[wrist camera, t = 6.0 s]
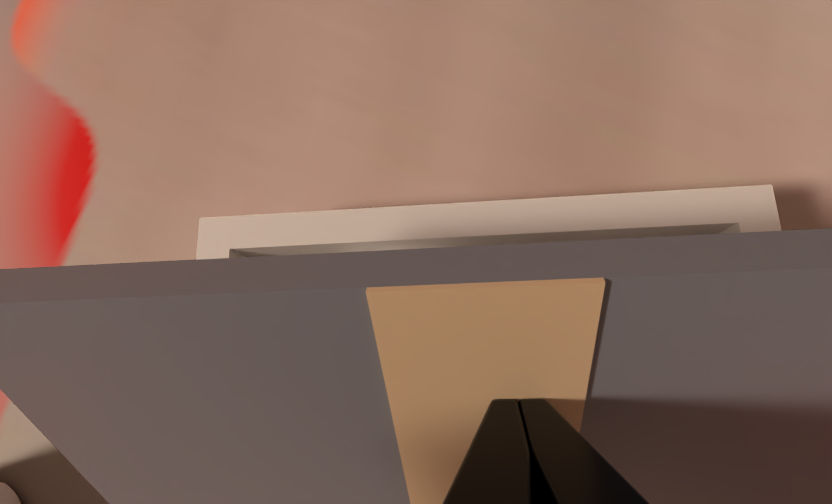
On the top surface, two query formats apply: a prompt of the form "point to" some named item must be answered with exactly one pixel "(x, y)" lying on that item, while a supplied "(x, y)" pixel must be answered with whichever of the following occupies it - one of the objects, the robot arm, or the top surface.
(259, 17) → the top surface
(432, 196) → the top surface
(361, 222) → the storage box
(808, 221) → the top surface
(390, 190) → the top surface
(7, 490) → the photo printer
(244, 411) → the flap lid
